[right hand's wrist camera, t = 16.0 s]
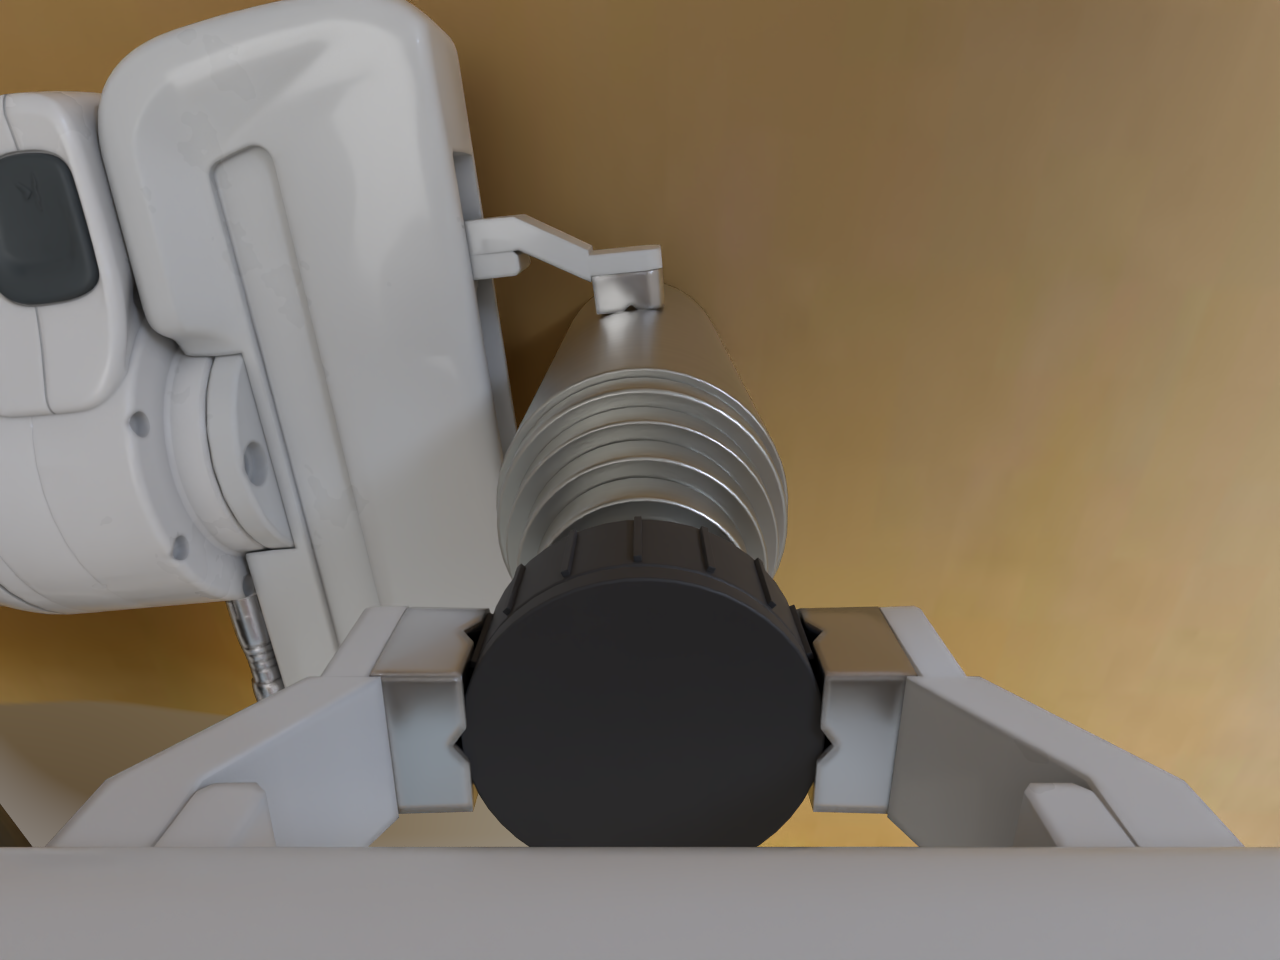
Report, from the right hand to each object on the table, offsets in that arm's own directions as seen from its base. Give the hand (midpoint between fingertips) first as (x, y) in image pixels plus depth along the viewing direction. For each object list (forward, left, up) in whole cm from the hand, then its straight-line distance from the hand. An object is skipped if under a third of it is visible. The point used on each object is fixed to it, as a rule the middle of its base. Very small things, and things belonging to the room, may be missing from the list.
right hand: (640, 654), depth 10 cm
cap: (0, 0, +1) cm, 1 cm away
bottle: (0, 0, -18) cm, 18 cm away
